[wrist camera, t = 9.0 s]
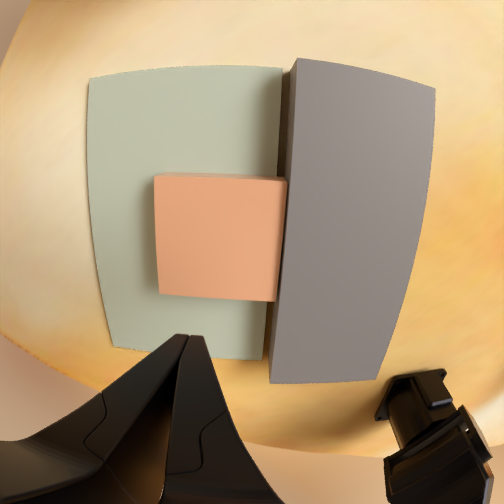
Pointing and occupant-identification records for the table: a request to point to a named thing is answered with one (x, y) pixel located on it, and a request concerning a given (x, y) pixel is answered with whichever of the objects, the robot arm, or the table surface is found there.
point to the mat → (173, 160)
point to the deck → (348, 219)
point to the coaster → (219, 234)
